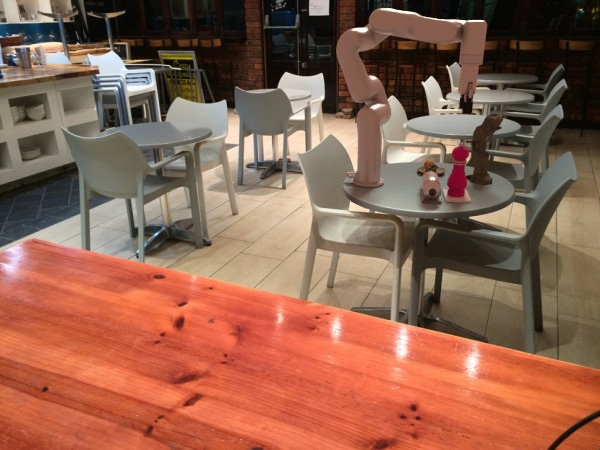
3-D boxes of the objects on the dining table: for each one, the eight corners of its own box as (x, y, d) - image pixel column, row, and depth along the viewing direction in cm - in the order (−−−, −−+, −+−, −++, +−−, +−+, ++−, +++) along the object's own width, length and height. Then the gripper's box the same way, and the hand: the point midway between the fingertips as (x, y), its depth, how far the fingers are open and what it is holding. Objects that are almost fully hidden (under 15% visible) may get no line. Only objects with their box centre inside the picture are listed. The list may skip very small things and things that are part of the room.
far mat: (445, 201, 180) (445, 199, 179) (442, 191, 191) (442, 189, 190) (470, 202, 178) (471, 200, 178) (466, 192, 189) (467, 190, 189)
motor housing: (421, 202, 179) (423, 183, 176) (419, 188, 194) (421, 170, 191) (441, 203, 178) (443, 184, 175) (438, 189, 193) (439, 171, 190)
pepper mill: (441, 192, 186) (447, 141, 178) (457, 190, 188) (463, 139, 180) (453, 199, 180) (459, 145, 172) (470, 196, 182) (476, 143, 174)
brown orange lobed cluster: (445, 178, 206) (447, 160, 203) (416, 176, 209) (418, 159, 206) (444, 170, 217) (446, 153, 214) (417, 169, 220) (418, 152, 217)
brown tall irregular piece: (457, 173, 208) (477, 109, 191) (470, 171, 210) (490, 107, 193) (478, 189, 198) (501, 123, 181) (491, 187, 201) (515, 121, 184)
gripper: (456, 57, 174) (451, 106, 180) (462, 62, 158) (456, 115, 165) (478, 57, 172) (472, 107, 179) (486, 62, 157) (480, 116, 164)
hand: (465, 111), depth 172 cm, fingers open, 9 cm apart
